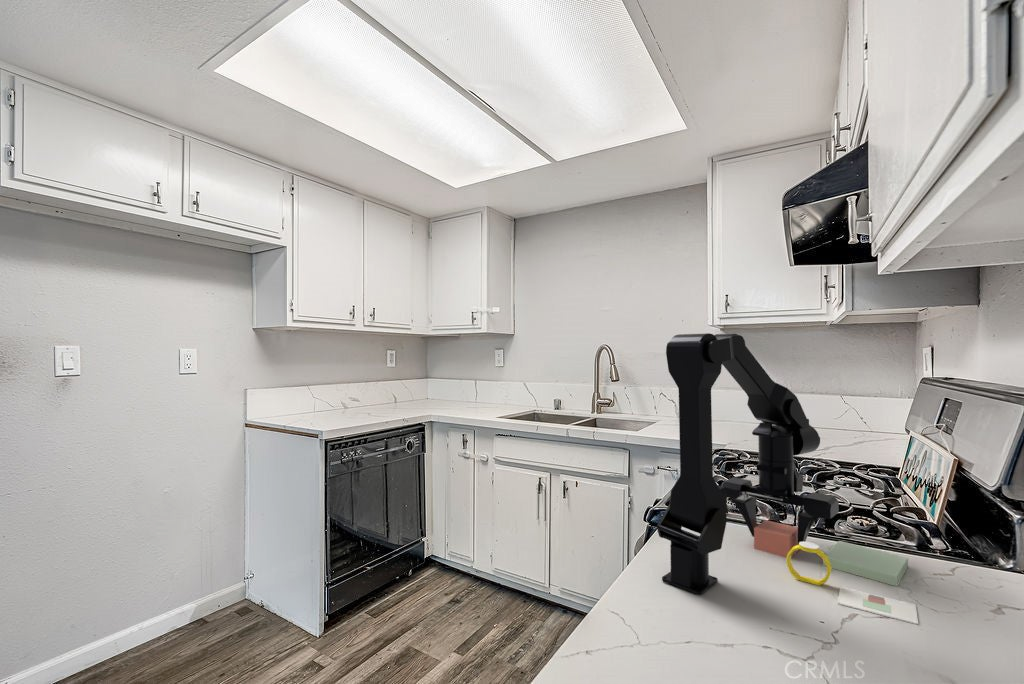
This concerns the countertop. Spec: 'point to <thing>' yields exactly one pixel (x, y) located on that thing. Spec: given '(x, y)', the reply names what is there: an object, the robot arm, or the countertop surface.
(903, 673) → the countertop surface
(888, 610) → the page
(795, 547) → the watch
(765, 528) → the brick
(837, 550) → the baseplate
